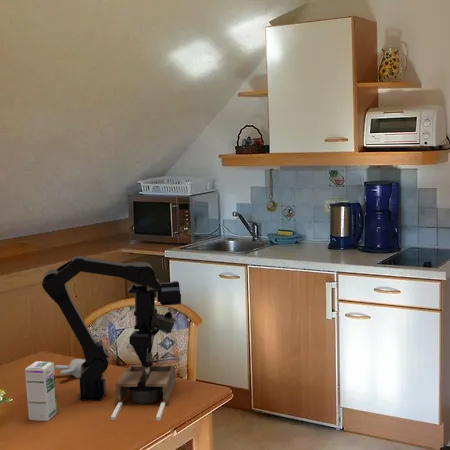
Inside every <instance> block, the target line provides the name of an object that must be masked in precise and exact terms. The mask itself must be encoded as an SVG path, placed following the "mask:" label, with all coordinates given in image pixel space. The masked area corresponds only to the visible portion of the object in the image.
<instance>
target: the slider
mask: <svg viewBox="0 0 450 450" xmlns="http://www.w3.org/2000/svg"><path fill="white" fill-rule="evenodd" d="M153 364H154V363H153V352H152V351H151V352H148V353H147V360H146V364H145V365H143V364H142V363H141V365H142V366H143V367H145V375H146V381H147V379H148V377H149V375H150V371H149V367H150V366H152V365H153ZM129 388H130V387H129ZM160 392H163V387H160Z"/></svg>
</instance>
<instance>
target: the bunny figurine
mask: <svg viewBox="0 0 450 450" xmlns="http://www.w3.org/2000/svg"><path fill="white" fill-rule="evenodd" d="M85 361H86V360H85V358H84V359H83V358H75V359H74V358H73V359H72V360H71V361H70V363H69V365H65V364H64V365H63V364H56V365H55V364H54V370H59V371H60V376H67V375H70V376H71V375H72V376H73V377H75V379H80V376H81V365H82V364H83V363H84V362H85Z"/></svg>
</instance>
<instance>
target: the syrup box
mask: <svg viewBox="0 0 450 450" xmlns="http://www.w3.org/2000/svg"><path fill="white" fill-rule="evenodd" d="M54 368H55V363H54V362H53V361H40V360H39V361H37V360H36V361H34V362H32V364H30V365H28V366H27V367H26V368H25V369H24V372H25V386H26V388H25V389H26V400H27V410H28V411H27V413H28V419H29V421H38V422H39V421H40V422H49V421H50V420H51V419H52V418H53V417H55V415H56V414H57V413H59V412H58V402H57V399H58V398H57V388H56V373H55V370H56V369H54Z"/></svg>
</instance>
